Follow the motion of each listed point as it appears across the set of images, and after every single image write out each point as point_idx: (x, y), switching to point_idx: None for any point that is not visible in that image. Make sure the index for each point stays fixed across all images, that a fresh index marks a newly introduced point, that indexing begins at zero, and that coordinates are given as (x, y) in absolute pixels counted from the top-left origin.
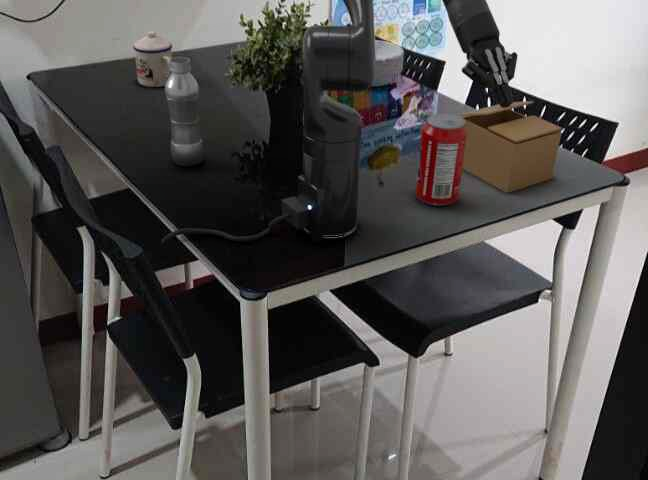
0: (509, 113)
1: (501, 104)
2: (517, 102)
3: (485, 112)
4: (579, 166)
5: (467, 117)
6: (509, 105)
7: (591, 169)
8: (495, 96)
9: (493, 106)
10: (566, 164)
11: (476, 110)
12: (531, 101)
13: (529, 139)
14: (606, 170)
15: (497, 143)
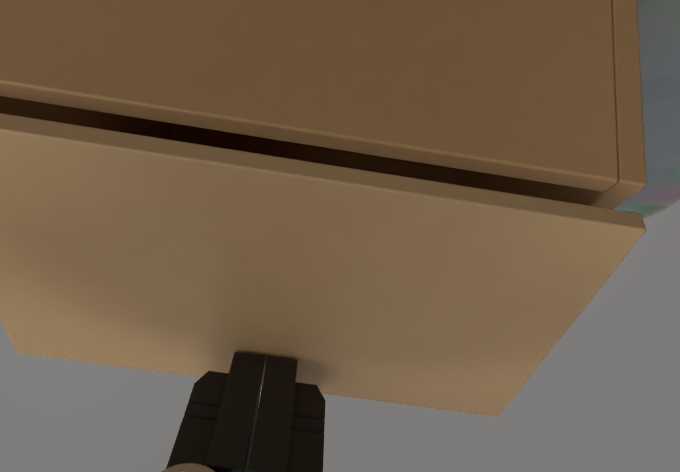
0: (568, 191)
1: (221, 378)
2: (514, 347)
3: (15, 341)
4: (659, 149)
5: (30, 100)
6: (339, 357)
7: (652, 174)
8: (181, 427)
9: (367, 239)
10: (651, 120)
11: (123, 192)
12: (483, 414)
13: (476, 179)
14: (673, 197)
15: None
